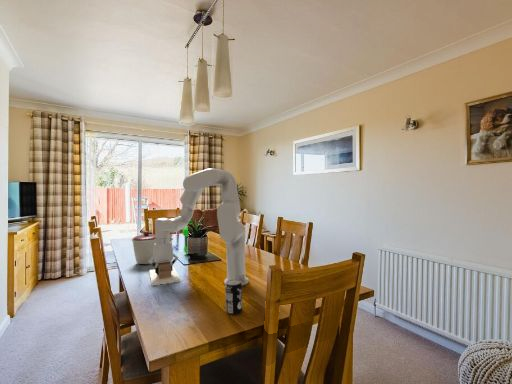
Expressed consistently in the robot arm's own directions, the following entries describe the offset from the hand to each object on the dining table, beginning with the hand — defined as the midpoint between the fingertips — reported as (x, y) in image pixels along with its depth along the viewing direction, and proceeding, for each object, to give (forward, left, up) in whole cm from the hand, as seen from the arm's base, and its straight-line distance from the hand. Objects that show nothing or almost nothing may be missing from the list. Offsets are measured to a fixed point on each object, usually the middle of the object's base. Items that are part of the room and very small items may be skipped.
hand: (164, 273), depth 149 cm
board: (+3, 0, -3) cm, 4 cm away
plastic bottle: (+46, -23, -3) cm, 51 cm away
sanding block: (0, 0, -1) cm, 1 cm away
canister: (+38, +7, -3) cm, 38 cm away
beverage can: (-54, -21, -3) cm, 59 cm away
